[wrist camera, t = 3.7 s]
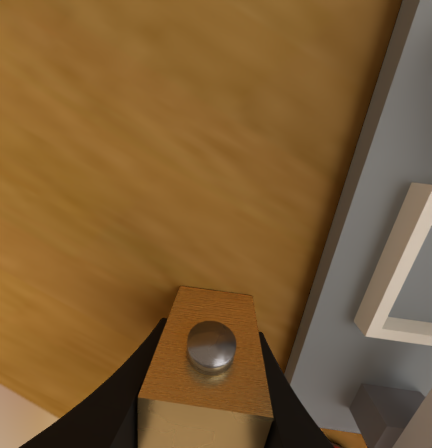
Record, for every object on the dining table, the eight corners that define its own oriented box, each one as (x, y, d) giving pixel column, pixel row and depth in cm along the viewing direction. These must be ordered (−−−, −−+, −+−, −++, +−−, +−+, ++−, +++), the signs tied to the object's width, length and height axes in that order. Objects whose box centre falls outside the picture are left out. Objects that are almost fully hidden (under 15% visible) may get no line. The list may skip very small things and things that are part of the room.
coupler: (254, 287, 12) (277, 404, 6) (239, 356, 14) (247, 498, 8) (180, 277, 12) (137, 384, 6) (175, 347, 14) (138, 481, 8)
